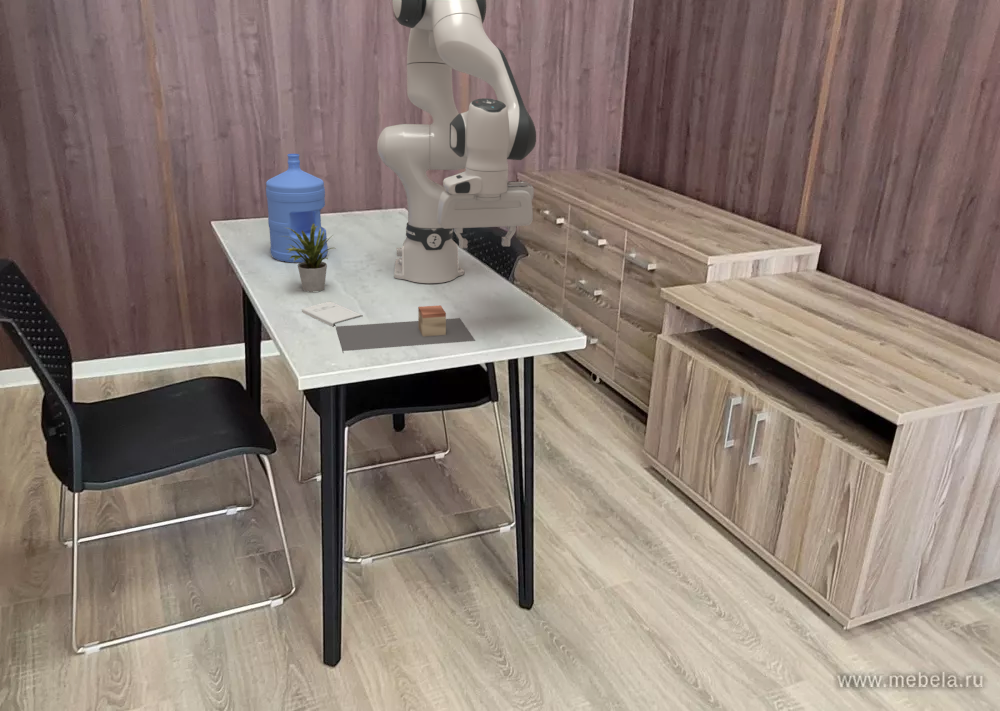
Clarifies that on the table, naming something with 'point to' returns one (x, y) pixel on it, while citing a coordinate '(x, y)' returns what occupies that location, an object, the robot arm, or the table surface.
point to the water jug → (294, 209)
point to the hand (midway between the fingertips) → (484, 246)
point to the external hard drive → (330, 313)
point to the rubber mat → (398, 335)
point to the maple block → (432, 320)
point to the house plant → (311, 260)
